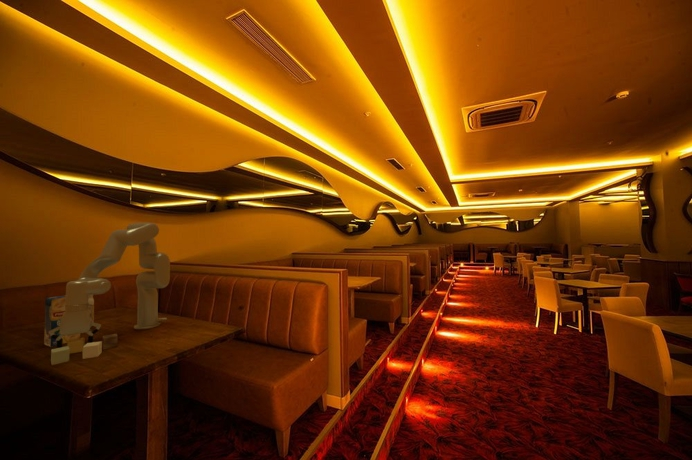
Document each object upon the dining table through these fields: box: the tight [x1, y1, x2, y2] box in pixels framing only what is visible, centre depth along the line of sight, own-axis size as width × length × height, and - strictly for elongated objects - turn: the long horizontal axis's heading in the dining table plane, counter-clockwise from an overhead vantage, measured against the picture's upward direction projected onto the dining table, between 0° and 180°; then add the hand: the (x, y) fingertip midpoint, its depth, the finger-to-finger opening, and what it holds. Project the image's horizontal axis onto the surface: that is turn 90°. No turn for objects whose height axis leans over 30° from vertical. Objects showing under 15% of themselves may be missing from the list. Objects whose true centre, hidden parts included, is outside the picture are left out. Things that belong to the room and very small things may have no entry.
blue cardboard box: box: [43, 294, 81, 348], centre depth 139 cm, size 7×11×22 cm, turn 155°
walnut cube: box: [102, 333, 119, 350], centre depth 132 cm, size 5×5×5 cm
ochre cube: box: [66, 337, 86, 355], centre depth 127 cm, size 5×5×5 cm
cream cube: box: [82, 340, 103, 360], centre depth 122 cm, size 5×5×5 cm
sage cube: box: [50, 345, 70, 366], centre depth 117 cm, size 5×5×5 cm
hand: (75, 346), depth 127 cm, fingers open, 9 cm apart
